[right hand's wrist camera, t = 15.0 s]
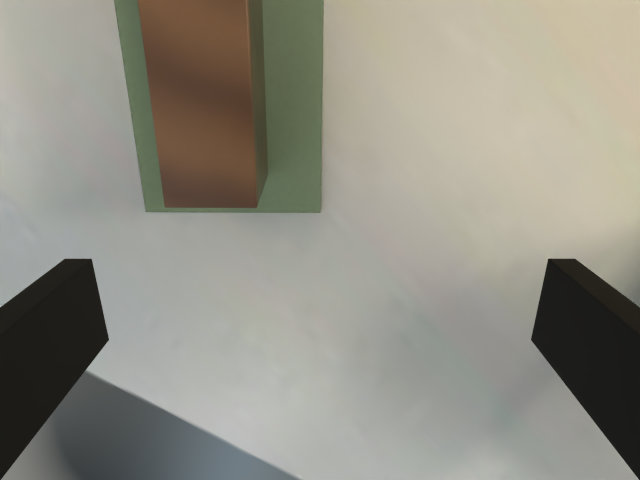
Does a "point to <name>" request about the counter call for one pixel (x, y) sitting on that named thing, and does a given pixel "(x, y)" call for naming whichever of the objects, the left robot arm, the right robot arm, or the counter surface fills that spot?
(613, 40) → the counter surface
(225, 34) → the walnut box
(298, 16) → the mat
